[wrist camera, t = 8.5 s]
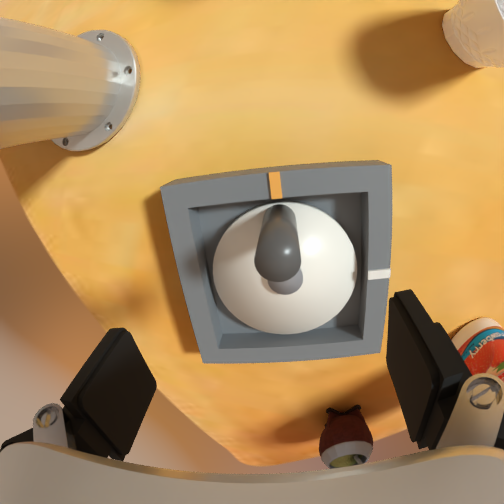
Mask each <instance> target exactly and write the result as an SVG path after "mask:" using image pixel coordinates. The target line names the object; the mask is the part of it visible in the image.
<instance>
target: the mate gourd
mask: <svg viewBox="0 0 504 504" xmlns="http://www.w3.org/2000/svg"><path fill="white" fill-rule="evenodd" d="M360 409H361V407H360V405H356V406H354V407H353V408H351V409H350V410H348V411H346V412H345V413H340V412H338V411H336V410H334V409H332V408H328V409H327V410H326V413H328V414H329V415H328V421H327V424H326V425H325V429H324V430H323V432H322V434H321V437H320V443H319V453H320V456H321V459H322V461H323V462H324V464H325V465H326V466H327V467H328V468H330V469H334V468H341V467H348V466H354V465H360V464H364V463H365V462H367V461H368V459H369V457H370V455H371V453H372V450H373V438H372V435H371V432H370V430H369V428H368V426H367V425H366V422H365V420H364V418H363V416H362V414H361V412H360V411H359V410H360Z"/></svg>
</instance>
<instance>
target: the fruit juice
mask: <svg viewBox="0 0 504 504" xmlns="http://www.w3.org/2000/svg"><path fill="white" fill-rule="evenodd" d="M451 341H452V342H453V344H454V345H455V347H456V349H457V350H458V352H459V354H460V355H461V357H462V358H463V360H464V362H465V363H466V365H467V367H468V369H469V370H470V372H471V374H472V376H473V375H475V374H480V373H488V374H492V375H495V376H497V377H498V378H500V379H501V380H502V381H503V383H504V329H503V328H502V327H501V326H500V324H499V323H497V322H496V321H495V320H493V319H491V318H487V317H484V318H479V319H476V320H474V321H472V322H470V323H468V324H467V325H465V326H464V327H463V328H462V329H461V330H460V331H458V333H457V334H456V335H455V336H454V337H453V338H452V340H451Z"/></svg>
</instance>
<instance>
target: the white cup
mask: <svg viewBox="0 0 504 504" xmlns="http://www.w3.org/2000/svg"><path fill="white" fill-rule="evenodd" d="M442 28H443V31H444V36H445V39H446V41H447V42H448V44H449V46H450V47H451V49H452V51H453V52H454V53H455V54H456V55H457V56H458V57H459V58H460V59H461V60H462V61H463V62H464V63H466V64H468V65H471V66H473V67H475V68H485V67H496V68H498V67H504V0H460V1H458V3H457V4H456V5H455V6H454V7H453V8H451V9H450V10H449V11H447V12H446V13H445V14H444V17H443V22H442Z"/></svg>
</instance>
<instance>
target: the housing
mask: <svg viewBox="0 0 504 504" xmlns="http://www.w3.org/2000/svg"><path fill="white" fill-rule="evenodd" d="M160 189H161V194H162V200H163V205H164V210H165V215H166V220H167V224H168V229H169V234H170V238H171V243H172V247H173V252H174V256H175V260H176V264H177V269H178V273H179V277H180V281H181V285H182V289H183V293H184V297H185V300H186V304H187V308H188V312H189V316H190V319H191V323H192V326H193V330H194V334H195V337H196V341H197V344H198V347H199V351H200V354H201V357H202V361H203V363H270V362H290V361H306V360H319V359H330V358H340V357H349V356H358V355H366V354H374V353H380V350H381V344H382V337H383V330H384V323H385V315H386V306H387V297H388V286H389V278H390V271H391V269H390V259H391V239H392V168H391V165H390V164H387V163H384V162H381V161H379V160H371V161H346V162H328V163H313V164H300V165H288V166H277V167H267V168H258V169H249V170H240V171H232V172H224V173H217V174H210V175H203V176H196V177H189V178H183V179H177V180H173V181H171V182H169V183H167V184H165V185H163V186H161V187H160ZM274 201H298V202H302V203H306V204H309V205H312V206H315V207H317V208H319V209H321V210H323V211H324V212H326V213H327V214H329V215H330V216H331V217H333V218H334V219H335V220H336V221H337V222H338V223H339V224H340V226H341V227H342V228H343V230H344V231H345V232H346V234H347V236H348V238H349V240H350V241H351V243H352V245H353V248H354V251H355V255H356V259H357V279H356V283H355V287H354V290H353V292H352V295H351V296H350V298H349V300H348V302H347V303H346V305H345V306H344V307H343V309H342V310H341V311H340V312H339V313H338V314H337V315H336V316H334V317H333V318H332V319H331V320H329V321H328V322H326V323H325V324H323V325H321V326H319V327H317V328H315V329H312V330H309V331H306V332H302V333H296V334H273V333H268V332H264V331H261V330H257V329H255V328H253V327H251V326H248V325H247V324H245V323H243V322H242V321H240V320H239V319H238V318H236V317H235V316H234V315H233V314H232V313H231V312H230V311H229V310H228V309H227V307H226V306H225V305H224V304H223V302H222V300H221V299H220V297H219V295H218V292H217V290H216V287H215V284H214V278H213V260H214V255H215V252H216V249H217V246H218V244H219V242H220V240H221V238H222V236H223V234H224V233H225V231H226V230H227V229H228V227H229V226H230V225H231V224H232V223H233V222H234V220H236V219H237V218H238V217H239V216H240V215H242V214H243V213H245V212H246V211H248V210H250V209H252V208H254V207H256V206H258V205H261V204H265V203H268V202H274Z"/></svg>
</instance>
